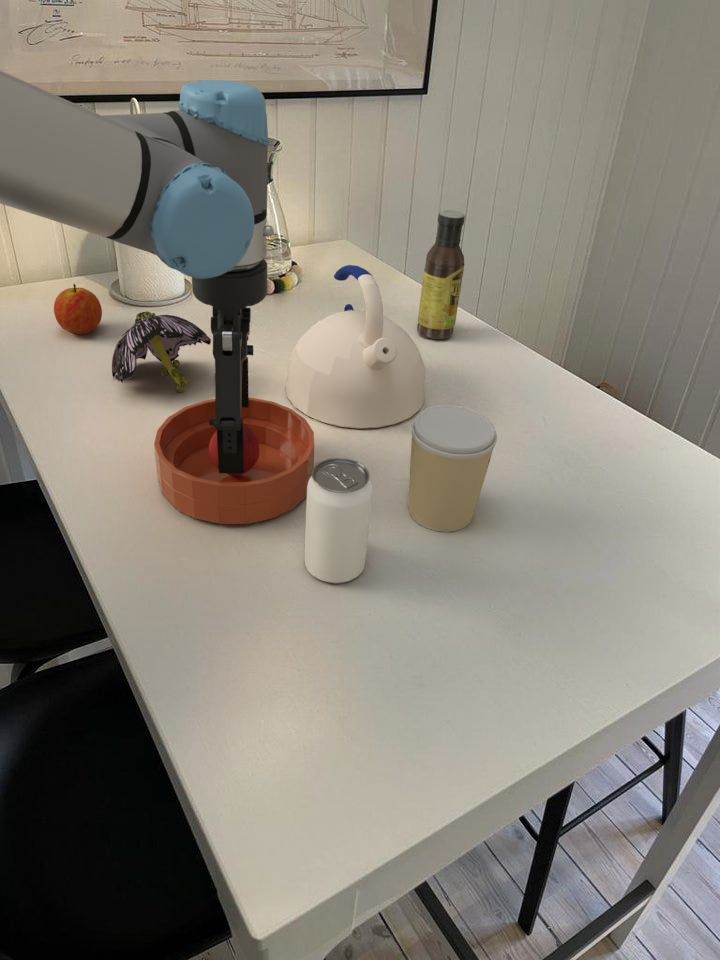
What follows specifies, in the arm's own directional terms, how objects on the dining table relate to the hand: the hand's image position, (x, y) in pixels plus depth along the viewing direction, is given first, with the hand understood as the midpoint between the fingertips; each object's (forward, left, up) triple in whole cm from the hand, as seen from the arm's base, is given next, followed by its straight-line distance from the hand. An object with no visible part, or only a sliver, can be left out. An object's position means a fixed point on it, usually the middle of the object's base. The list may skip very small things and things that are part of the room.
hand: (234, 436), depth 87 cm
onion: (0, 0, -6) cm, 6 cm away
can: (+11, -15, -6) cm, 20 cm away
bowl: (0, 0, -6) cm, 6 cm away
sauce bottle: (+31, +41, -6) cm, 52 cm away
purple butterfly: (-12, +23, -6) cm, 27 cm away
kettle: (+16, +21, -6) cm, 27 cm away
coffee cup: (+24, -6, -6) cm, 26 cm away
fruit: (-26, +38, -6) cm, 47 cm away
